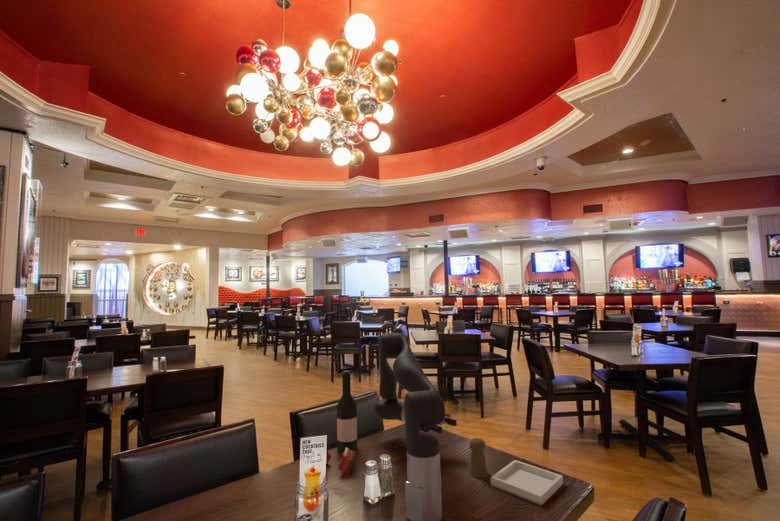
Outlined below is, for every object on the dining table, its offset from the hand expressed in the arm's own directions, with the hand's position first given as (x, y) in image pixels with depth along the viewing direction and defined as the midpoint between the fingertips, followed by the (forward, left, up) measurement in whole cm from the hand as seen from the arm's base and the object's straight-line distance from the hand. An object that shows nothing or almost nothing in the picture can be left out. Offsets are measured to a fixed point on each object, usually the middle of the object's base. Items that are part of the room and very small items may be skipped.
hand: (449, 426), depth 133 cm
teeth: (-32, +26, -13) cm, 43 cm away
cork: (0, -12, -12) cm, 17 cm away
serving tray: (+4, -27, -12) cm, 30 cm away
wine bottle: (-18, +36, -12) cm, 42 cm away
